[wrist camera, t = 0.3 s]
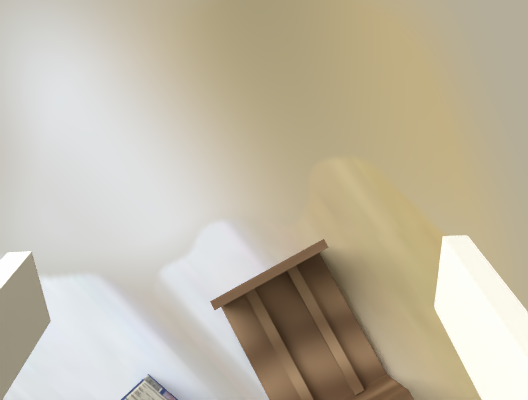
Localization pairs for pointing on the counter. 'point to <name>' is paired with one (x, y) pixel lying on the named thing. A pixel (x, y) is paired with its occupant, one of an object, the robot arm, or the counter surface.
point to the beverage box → (149, 391)
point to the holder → (305, 335)
